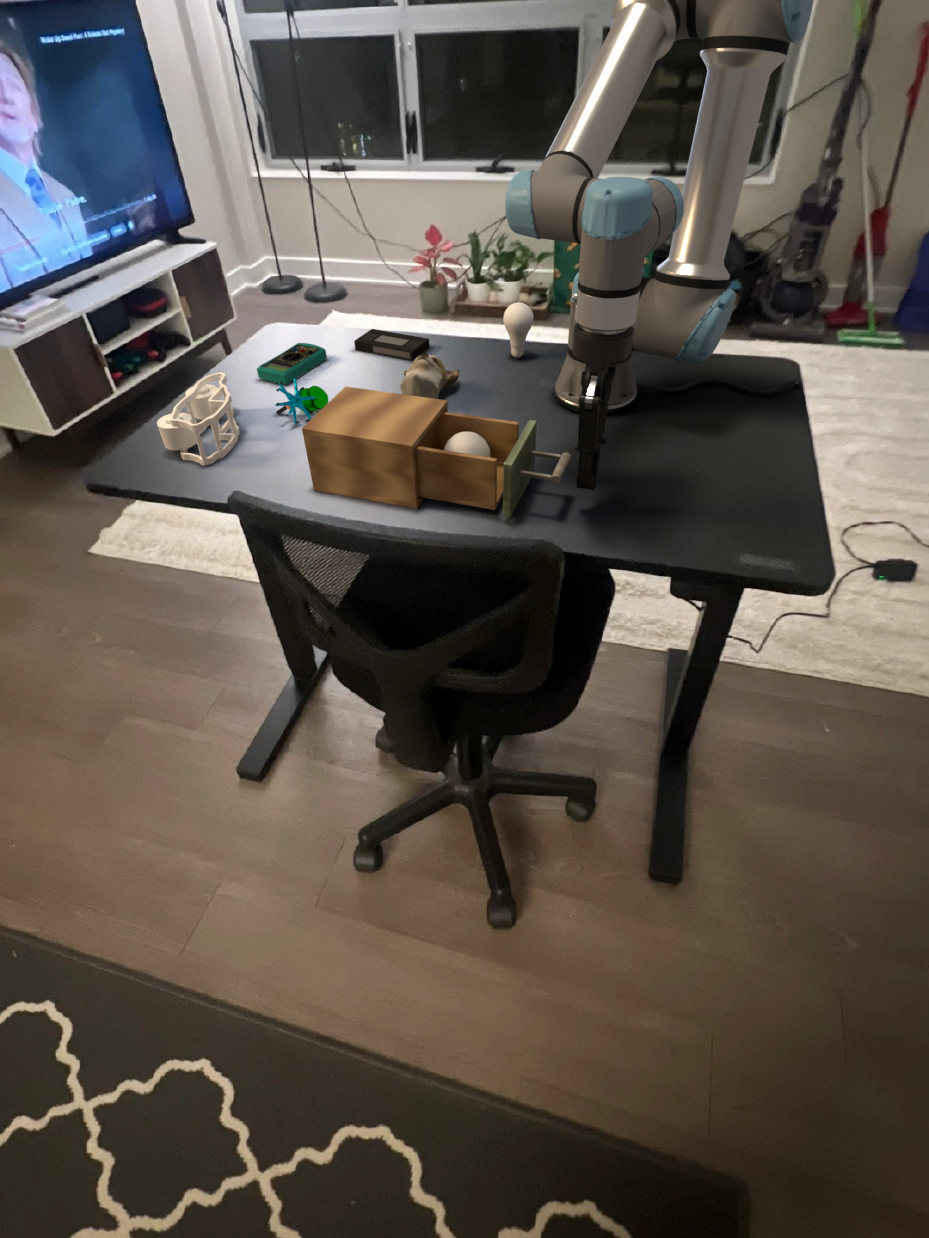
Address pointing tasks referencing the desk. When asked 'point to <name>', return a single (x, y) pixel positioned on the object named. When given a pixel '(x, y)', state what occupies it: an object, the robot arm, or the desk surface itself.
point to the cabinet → (370, 444)
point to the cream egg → (468, 444)
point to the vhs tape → (392, 344)
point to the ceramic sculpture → (427, 377)
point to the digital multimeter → (292, 363)
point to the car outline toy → (205, 405)
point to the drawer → (481, 463)
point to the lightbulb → (518, 326)
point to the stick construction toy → (303, 400)
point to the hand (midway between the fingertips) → (586, 486)
